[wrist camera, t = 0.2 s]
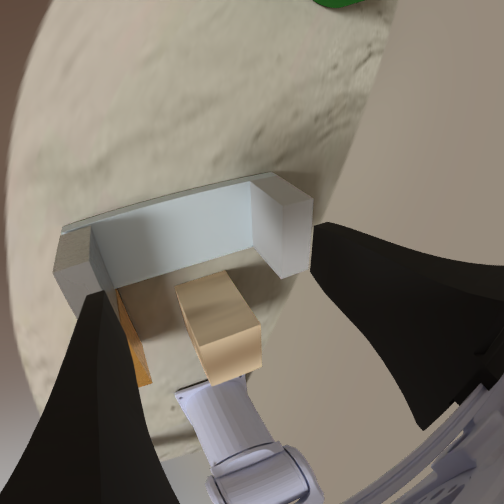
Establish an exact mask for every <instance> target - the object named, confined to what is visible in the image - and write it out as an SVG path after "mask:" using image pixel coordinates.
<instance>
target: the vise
mask: <svg viewBox="0 0 504 504" xmlns="http://www.w3.org/2000/svg"><path fill="white" fill-rule="evenodd" d="M313 201H314V198H312V197H311V196H309V195H307V194H306V193H304V192H303V191H301V190H300V189H298V188H297V187H295V186H294V185H292V184H290V183H289V182H287V181H286V180H284V179H283V178H281V177H279V176H278V175H276V174H275V173H273V172H268V173H263V174H258V175H253V176H248V177H243V178H238V179H234V180H229V181H225V182H220V183H216V184H211V185H207V186H203V187H199V188H195V189H190V190H186V191H182V192H178V193H174V194H171V195H167V196H163V197H159V198H155V199H152V200H148V201H144V202H141V203H137V204H134V205H130V206H127V207H123V208H120V209H117V210H113V211H110V212H107V213H104V214H100V215H97V216H94V217H91V218H88V219H85V220H81V221H78V222H75V223H72V224H69V225H66V226H64V227H62V230H61V235H63V234H66V233H69V232H72V231H75V230H78V229H81V228H84V227H87V226H90V225H91V228H92V231H93V233H94V236H95V239H96V242H97V245H98V248H99V250H100V253H101V256H102V258H103V261H104V264H105V266H106V269H107V271H108V274H109V276H110V279H111V281H112V284H113V286H114V289H117V288H120V287H123V286H126V285H130V284H133V283H136V282H139V281H142V280H146V279H149V278H152V277H155V276H159V275H162V274H165V273H168V272H172V271H175V270H178V269H181V268H185V267H188V266H191V265H195V264H198V263H201V262H204V261H208V260H211V259H214V258H217V257H221V256H224V255H227V254H231V253H234V252H237V251H240V250H244V249H247V248H250V247H254V249H255V250H256V251H257V252H258V253H259V254H260V255H261V257H262V258H263V259H264V260H265V261H266V262H267V264H268V265H269V266H270V267H271V268H272V269H273V271H274V272H275V273H276V274H277V275H278V276H279V277H280V279H283V278H286V277H289V276H291V275H294V274H297V273H300V272H302V271H305V270H307V269H308V263H309V253H310V241H311V229H312V215H313Z"/></svg>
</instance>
